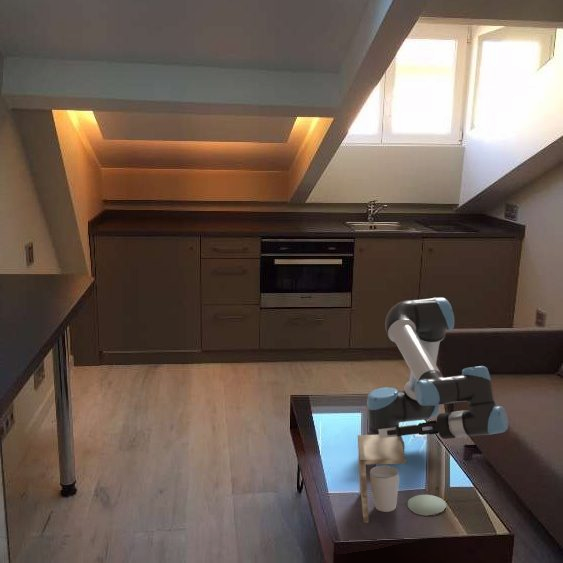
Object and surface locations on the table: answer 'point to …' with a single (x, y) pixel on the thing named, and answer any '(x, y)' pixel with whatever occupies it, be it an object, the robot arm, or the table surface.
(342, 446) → the table surface
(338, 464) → the table surface
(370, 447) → the shelf
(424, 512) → the mat
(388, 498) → the cup
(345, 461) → the table surface
